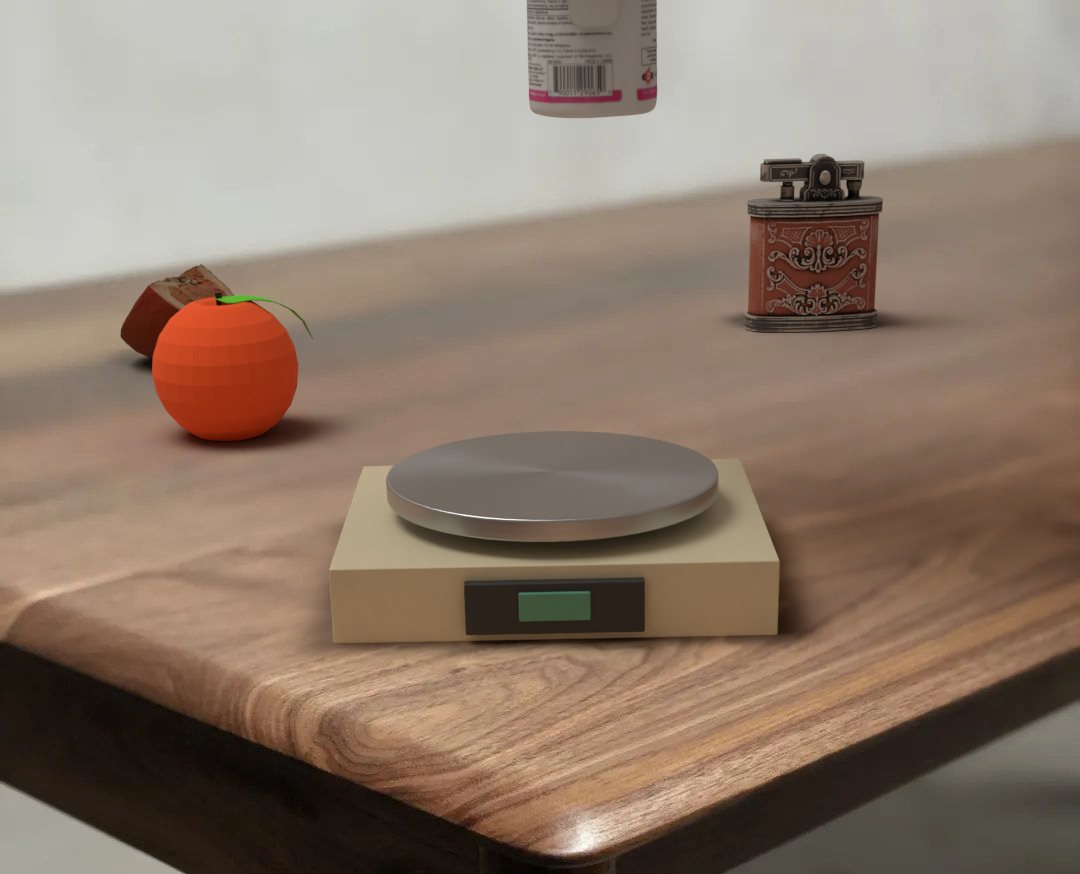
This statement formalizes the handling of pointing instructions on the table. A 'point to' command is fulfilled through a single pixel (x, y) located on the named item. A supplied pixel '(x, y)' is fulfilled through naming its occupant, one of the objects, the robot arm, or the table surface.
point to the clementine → (225, 368)
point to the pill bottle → (592, 62)
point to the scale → (554, 577)
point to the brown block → (167, 306)
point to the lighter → (813, 249)
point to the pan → (552, 486)
